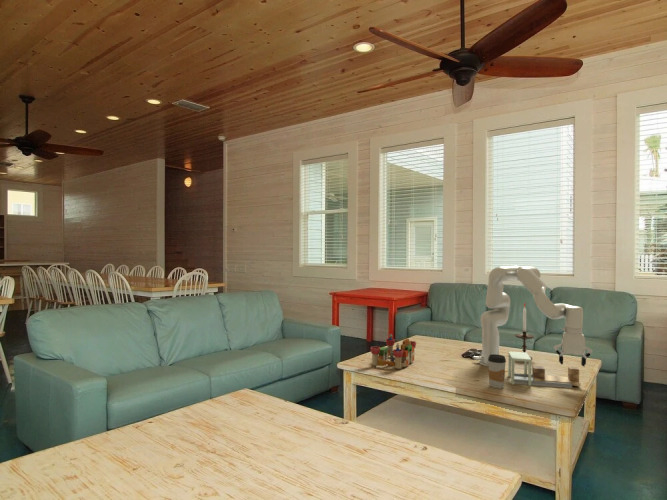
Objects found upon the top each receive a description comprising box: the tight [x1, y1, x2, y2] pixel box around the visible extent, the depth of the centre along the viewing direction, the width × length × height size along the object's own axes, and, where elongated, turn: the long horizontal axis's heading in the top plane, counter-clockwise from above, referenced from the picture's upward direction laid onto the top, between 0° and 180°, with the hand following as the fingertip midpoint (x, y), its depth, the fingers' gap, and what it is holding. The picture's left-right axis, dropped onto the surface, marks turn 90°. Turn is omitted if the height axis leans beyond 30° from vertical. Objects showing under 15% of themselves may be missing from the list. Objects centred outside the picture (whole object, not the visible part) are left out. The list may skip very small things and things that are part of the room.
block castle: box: [370, 333, 417, 369], centre depth 258 cm, size 30×20×14 cm
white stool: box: [507, 351, 532, 387], centre depth 221 cm, size 9×15×13 cm, turn 164°
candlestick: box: [514, 302, 535, 361], centre depth 265 cm, size 11×11×35 cm
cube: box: [531, 365, 546, 379], centre depth 218 cm, size 5×5×5 cm
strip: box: [533, 366, 582, 387], centre depth 216 cm, size 20×10×7 cm, turn 74°
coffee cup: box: [488, 354, 507, 389], centre depth 212 cm, size 8×8×15 cm
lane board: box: [514, 372, 573, 389], centre depth 218 cm, size 26×12×2 cm, turn 74°
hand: (572, 364), depth 215 cm, fingers open, 9 cm apart
